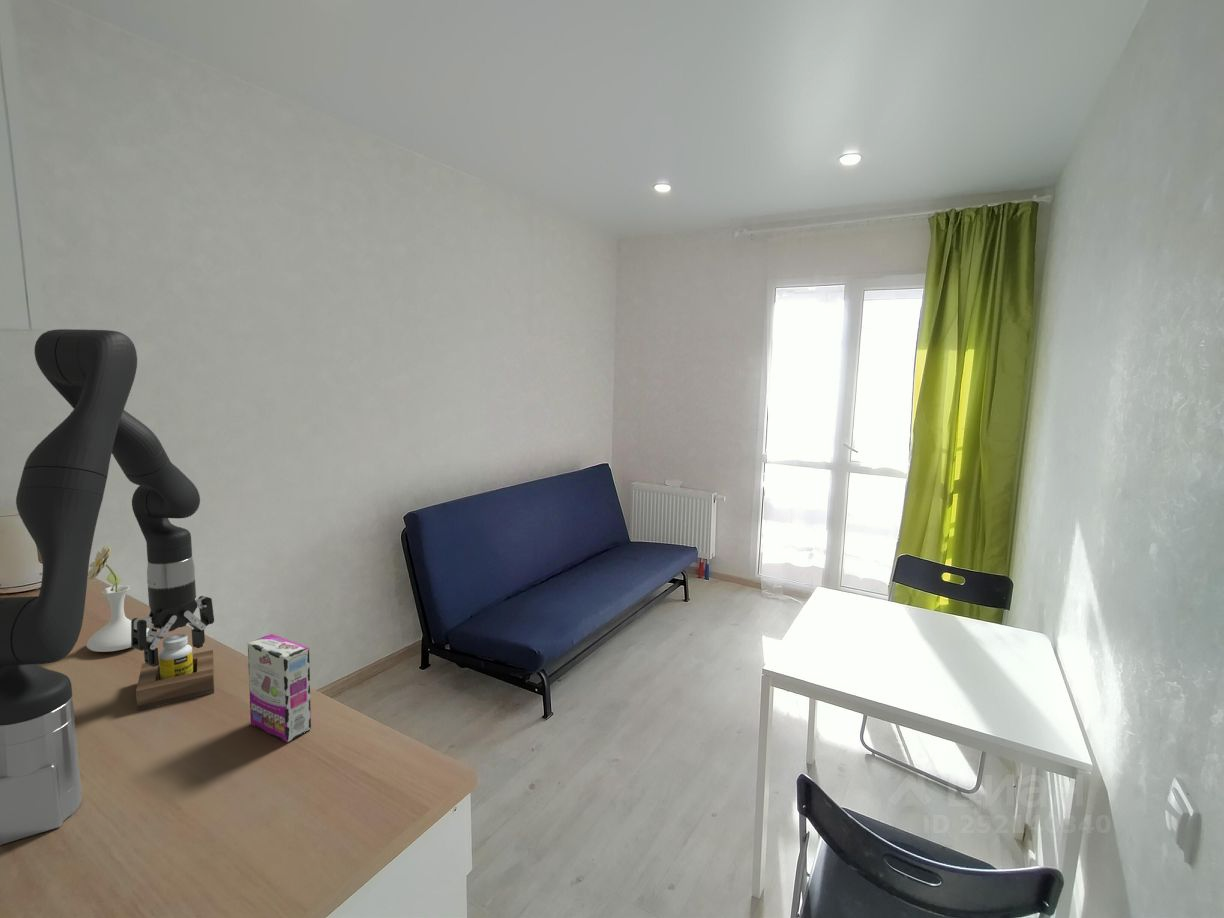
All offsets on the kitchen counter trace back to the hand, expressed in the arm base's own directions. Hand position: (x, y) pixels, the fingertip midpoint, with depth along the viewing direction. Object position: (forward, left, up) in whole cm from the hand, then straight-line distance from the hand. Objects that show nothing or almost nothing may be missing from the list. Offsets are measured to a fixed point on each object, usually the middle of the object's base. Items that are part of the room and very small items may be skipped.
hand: (176, 655), depth 114 cm
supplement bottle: (0, 0, -6) cm, 6 cm away
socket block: (0, 0, -7) cm, 7 cm away
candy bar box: (-25, -16, -7) cm, 31 cm away
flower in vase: (+27, +12, -7) cm, 30 cm away
